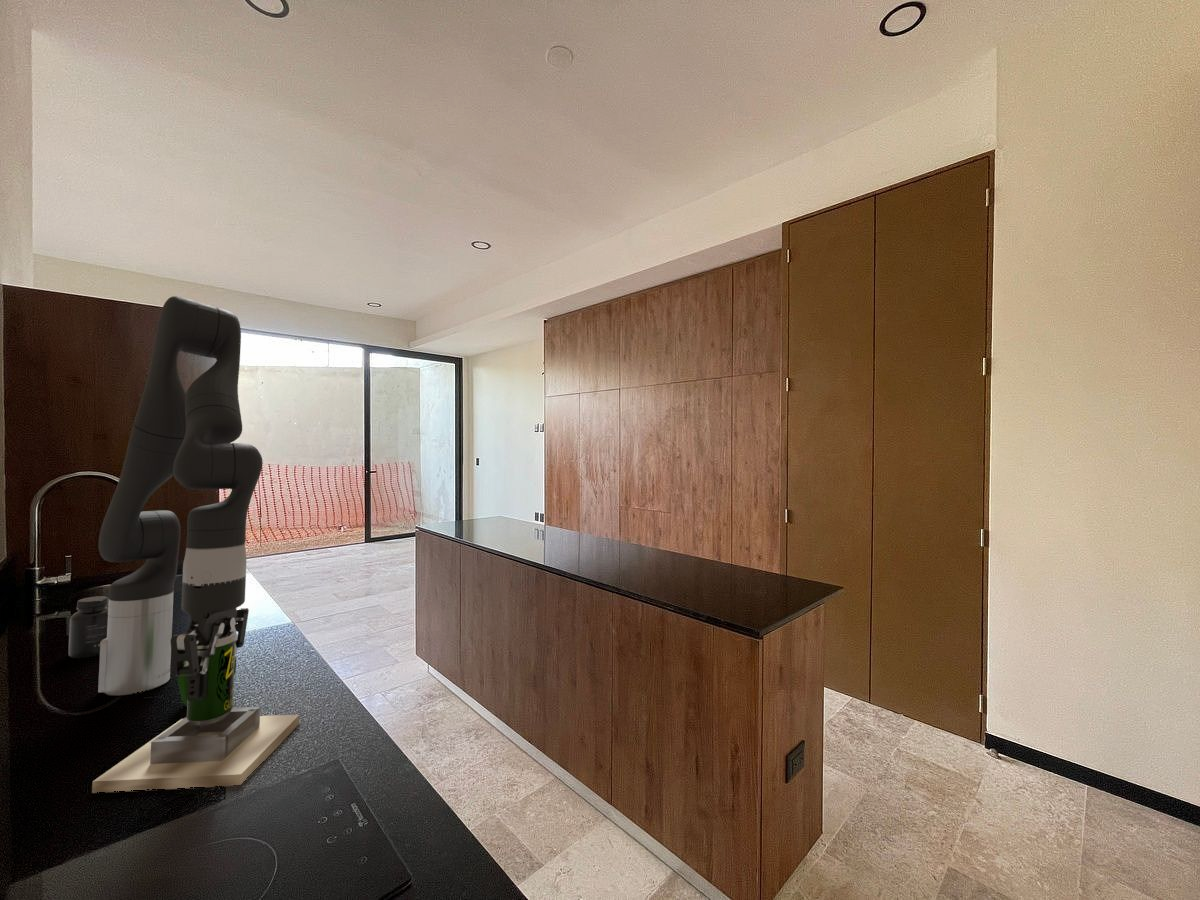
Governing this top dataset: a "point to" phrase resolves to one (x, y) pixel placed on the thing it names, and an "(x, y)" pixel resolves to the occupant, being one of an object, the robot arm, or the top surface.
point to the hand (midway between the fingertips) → (210, 689)
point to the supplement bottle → (88, 627)
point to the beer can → (216, 684)
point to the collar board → (201, 753)
